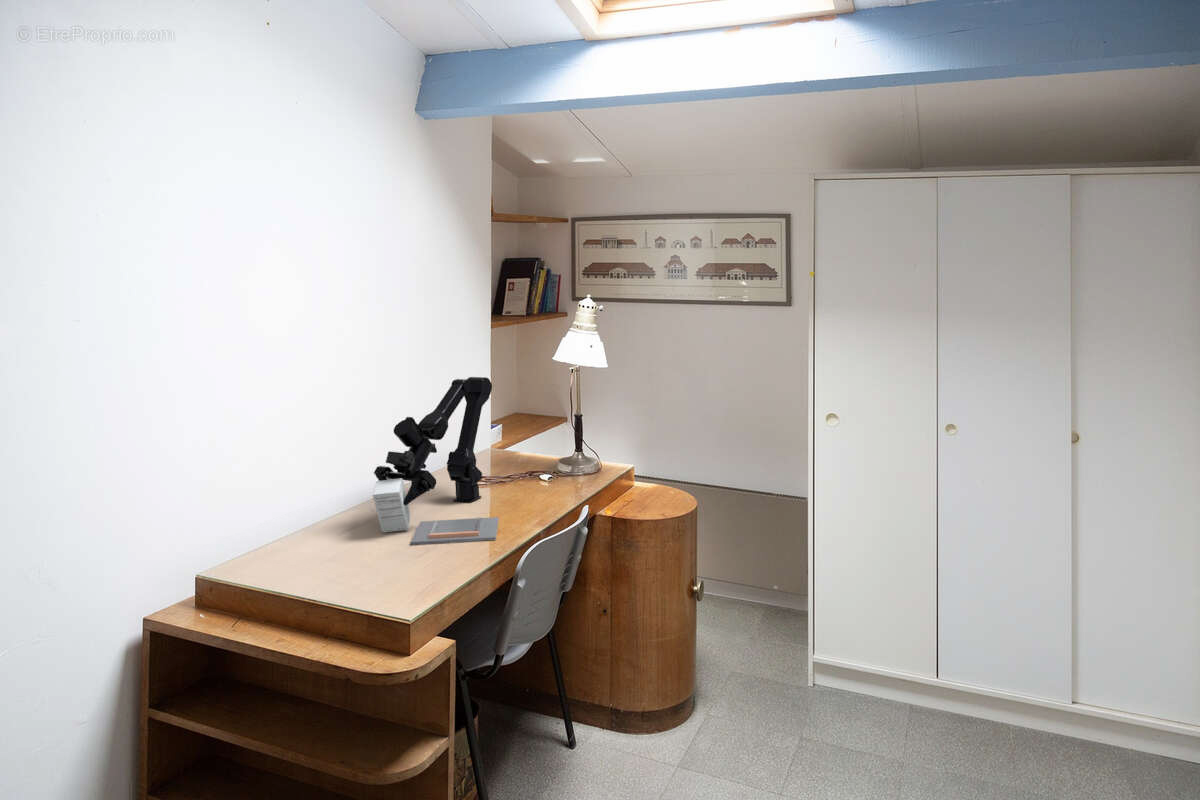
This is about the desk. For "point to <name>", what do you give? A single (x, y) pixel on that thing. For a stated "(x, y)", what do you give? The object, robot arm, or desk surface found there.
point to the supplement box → (391, 505)
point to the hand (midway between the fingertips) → (391, 502)
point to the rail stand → (456, 530)
